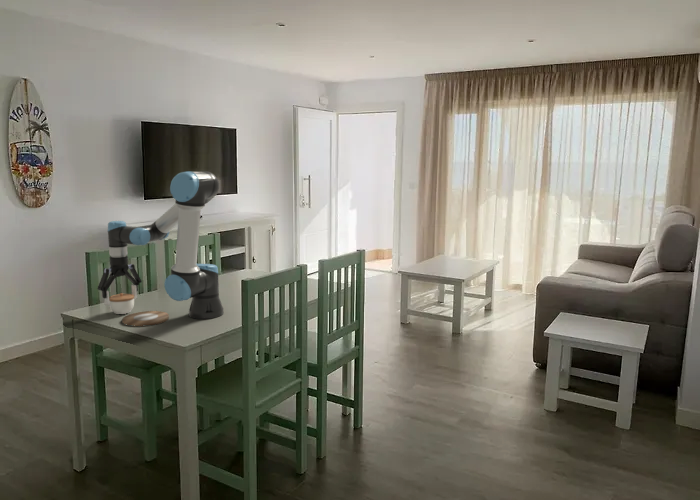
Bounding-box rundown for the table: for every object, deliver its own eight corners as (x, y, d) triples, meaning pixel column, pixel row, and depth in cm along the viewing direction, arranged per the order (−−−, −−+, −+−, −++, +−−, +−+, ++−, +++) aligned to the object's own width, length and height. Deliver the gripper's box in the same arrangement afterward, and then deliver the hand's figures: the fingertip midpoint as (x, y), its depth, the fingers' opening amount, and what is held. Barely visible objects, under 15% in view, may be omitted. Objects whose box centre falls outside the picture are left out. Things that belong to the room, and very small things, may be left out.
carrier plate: (177, 315, 242) (177, 313, 242) (149, 328, 224) (149, 325, 224) (142, 311, 248) (142, 309, 248) (112, 323, 230) (112, 320, 230)
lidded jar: (108, 317, 240) (106, 296, 238) (111, 310, 250) (110, 290, 248) (133, 315, 242) (132, 295, 241) (136, 309, 253) (135, 289, 251)
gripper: (138, 250, 254) (140, 294, 258) (87, 258, 234) (90, 306, 237) (148, 252, 250) (150, 297, 253) (96, 261, 229) (99, 309, 233)
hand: (121, 301), depth 245 cm, fingers open, 13 cm apart
